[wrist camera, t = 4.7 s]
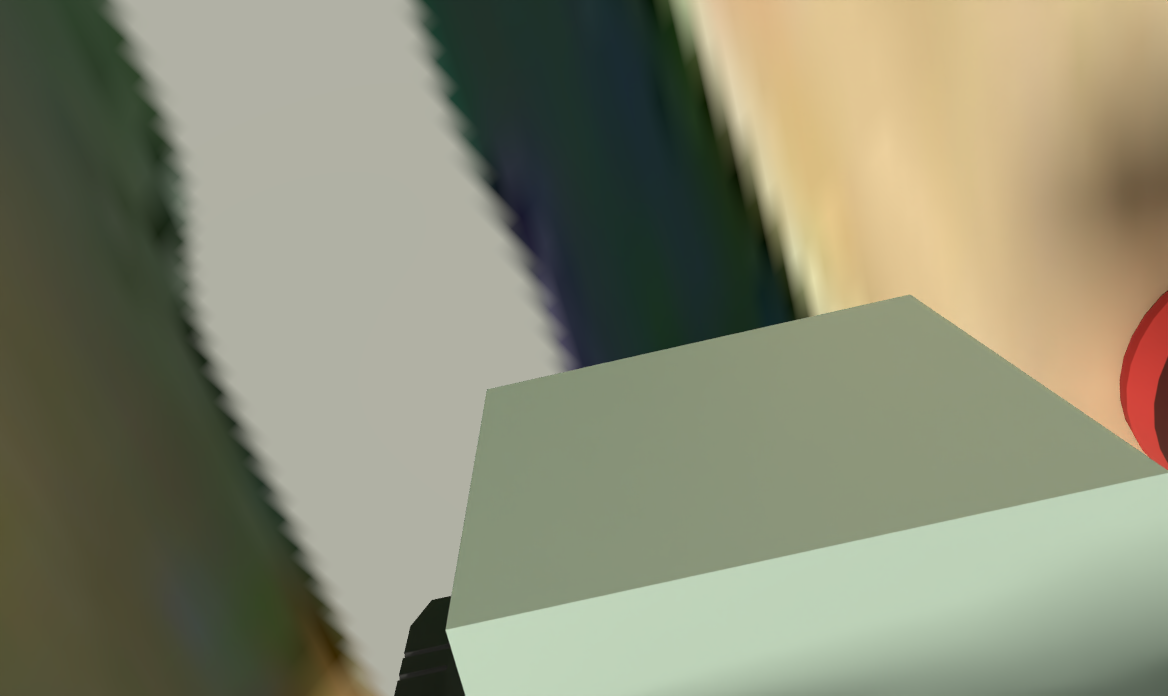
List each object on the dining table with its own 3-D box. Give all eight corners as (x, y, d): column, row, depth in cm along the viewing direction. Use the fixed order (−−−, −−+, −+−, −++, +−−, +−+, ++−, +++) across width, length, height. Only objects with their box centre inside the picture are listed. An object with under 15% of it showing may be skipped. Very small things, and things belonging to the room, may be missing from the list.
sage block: (486, 389, 13) (444, 629, 8) (910, 294, 13) (1170, 472, 7) (581, 740, 14) (601, 1142, 9) (957, 660, 14) (1200, 1022, 9)
